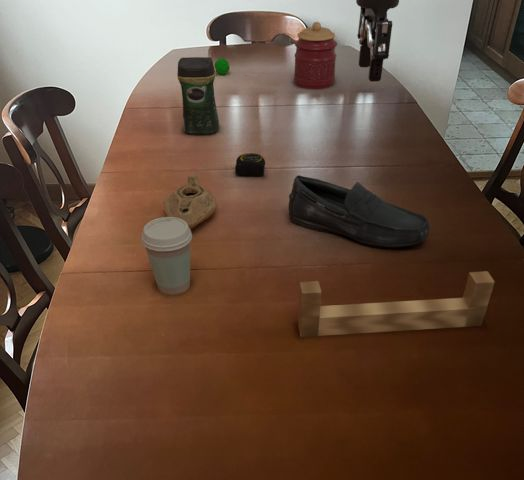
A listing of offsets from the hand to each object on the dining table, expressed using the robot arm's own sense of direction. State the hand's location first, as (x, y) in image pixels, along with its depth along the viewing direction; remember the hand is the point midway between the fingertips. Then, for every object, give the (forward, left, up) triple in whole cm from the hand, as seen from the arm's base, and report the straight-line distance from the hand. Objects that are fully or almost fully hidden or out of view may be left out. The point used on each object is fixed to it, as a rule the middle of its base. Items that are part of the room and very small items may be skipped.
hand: (369, 73), depth 113 cm
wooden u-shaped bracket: (+3, +44, -26) cm, 51 cm away
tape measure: (+22, -15, -27) cm, 38 cm away
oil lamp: (+36, +6, -27) cm, 45 cm away
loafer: (+3, +14, -27) cm, 30 cm away
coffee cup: (+39, +29, -27) cm, 55 cm away
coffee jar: (+34, -43, -27) cm, 61 cm away
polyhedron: (+27, -91, -27) cm, 99 cm away
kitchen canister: (-2, -78, -27) cm, 83 cm away
